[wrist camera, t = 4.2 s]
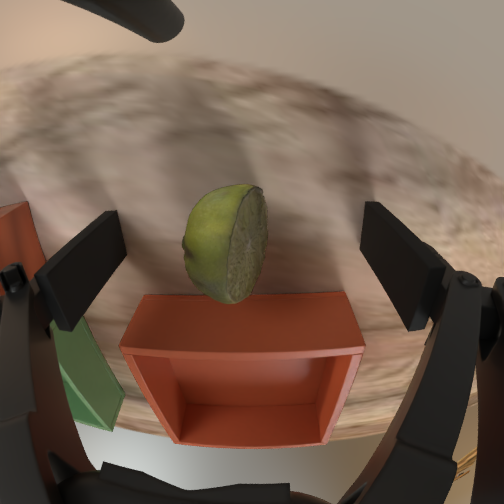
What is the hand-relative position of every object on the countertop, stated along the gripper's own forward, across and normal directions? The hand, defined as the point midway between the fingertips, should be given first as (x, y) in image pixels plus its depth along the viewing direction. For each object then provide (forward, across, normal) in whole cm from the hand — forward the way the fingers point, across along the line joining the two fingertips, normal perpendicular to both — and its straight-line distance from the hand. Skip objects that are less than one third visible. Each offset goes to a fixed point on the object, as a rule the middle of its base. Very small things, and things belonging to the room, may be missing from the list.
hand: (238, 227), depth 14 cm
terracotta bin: (0, 0, -10) cm, 10 cm away
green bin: (0, -18, -10) cm, 21 cm away
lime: (0, 0, 0) cm, 0 cm away
